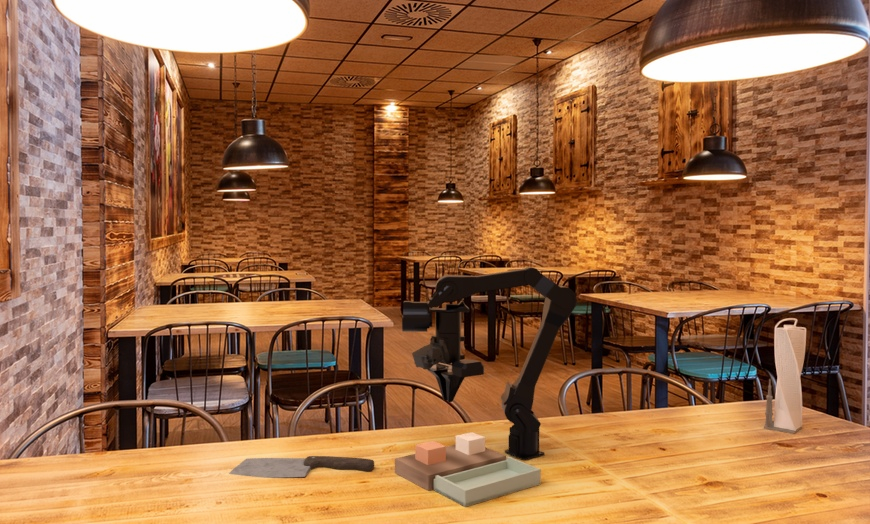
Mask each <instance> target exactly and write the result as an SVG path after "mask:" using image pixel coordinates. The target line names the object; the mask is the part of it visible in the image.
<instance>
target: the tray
mask: <svg viewBox="0 0 870 524" xmlns="http://www.w3.org/2000/svg"><path fill="white" fill-rule="evenodd" d="M541 471H542V470H541V468H539V467H536V466H533V465H532V464H529V463H526V462H523V461H521V460H518V459H515V458H514V457H511V456H506V460H504V461H500V462H497V463H493V464H489V465H485V466H481V467H477V468H474V469H470V470H466V471H462V472H458V473H454V474H451V475H447V476H443V477H441V476H439V475H437V476H435V479H434V490H433V491H435V492H436V493H438V494H439V495H442V496H444V498H445V497H446V498H447V499H449V500H451V501H453V502H455V503H457V504H458V505H461V506H463V507H464V508H467V507H469V506H474V505H476V504H481V503H483V502H486V501H490V500H493V499H496V498H500V497H503V496H507V495H509V494H513V493H517V492H520V491H523V490H526V489H530V488H532V487H535V486H540V485H541V482H542V481H541V480H542V479H541V475H542V473H541Z"/></svg>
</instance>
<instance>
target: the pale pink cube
mask: <svg viewBox="0 0 870 524" xmlns="http://www.w3.org/2000/svg"><path fill="white" fill-rule="evenodd" d="M455 445H456V450H458V451H460V452H462V453H465V454H467V455H472V454H476V453H480V452H484V451H485V447H486V437H485V436H483V435H481V434H478V433H475V432H473V431H471V432H466V433H463V434H458V435H455Z"/></svg>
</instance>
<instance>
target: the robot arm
mask: <svg viewBox="0 0 870 524" xmlns="http://www.w3.org/2000/svg"><path fill="white" fill-rule="evenodd" d="M525 286H529V287H531V288H532V289H534V291H536V292H537V293H539V294H540V295H541V296H543V297H544V304H543V306H542V307H543V308H542V314H541V315H542V317H541V321H540V324H539V327H538V330H537V332H536V334H535V336H534V339H533V341H532V344H531V345H530V348H529V350H528V354H527V356H526V358H525V361H524V363H523V366H522V368H521V370H520V372H519V374H518V377H517V378H516V380H515V381H513V383H511V382H509V381H507V382H506V384H505V387H504V392H503V393H502V394H501V395H500V399H501V408H502V410H503V413H504V416H505V417H506V419H507V420H508V422H510V423H512V425H511V426H510V427H509V434H508V448H507V449H505V450H504V454H507V455H510V456H513V457H515V458H518V459H520V460H522V461H523V460H524V461H525V460H529V459H533V458H537V457H541V456H544V455H545V452H544V451H541V450H540V427H541V424H542V423H541V422H540V420H539V418H538V416H537V415H536V413H535V412H534V411H533V410H532V409H533V405H534V400H535V391H536V390H535V389H536V385H537V383H538V380H539V378H540V376H541V373H542V371H543V369H544V366H545V364H546V361H547V359H548V357H549V354H550V351H551V349H552V347H553V344H554V342H555V340H556V337H557V335H558V333H559V330H560V329H561V327H562V326H563V325H564V324H565V323H566V322H567V320H568V319H569V318H570V316H571V314H572V313H573V312H574V310H575V308H576V306H577V304H578V298H577V295H576V293H575V292H574V291H573V289H572V288H569V287H567V286H564V285H561V284H557V283H555V282H554V281H553V280H551V279H549V278H548V277H547V276H545V275H544V274H543V273H541V271H540V270H538V268H535V267H532V266H527V267H526V266H525V268H519V269H512V270H507V271H506V270H505V271H500V272H493V273H487V274H480V275H464V274H463V275H461V274H460V275H459V274H446V275H442V276H441V277H439V278H438V280H437V281H436V284H435V291H434V292H433V293H432V294H431V296H430V297H428V298H429V299H428V300H427V301H411V300H404V301H403V306H402V307H403V309H402V316H401V326H402V327H401V331H402V332H403V333H404V332H405V333H407V332H409V333H410V332H411V333H412V332H415V333H418V332H419V333H423V332H424V333H427V332H428V329H431V328H433V313H434V314H435V316H434V317H435V318H434V319H435V320H434V321H435V327H434V329H435V334H434V335H431V337H430V341H429V344H427V345H424V346H422V347H421V348H418V349H416V350H415V351H414V352H412V353H411V355H412V357H413V358H412V359H413V362H414V365H415V367H416V368H421V369H423V370H427V372H429V373H431V374H432V375H433V376H434V377H435V379H436V382H437V385H438V388H439V391H440V395H441V397H442V400H443V401H444V402H446V401H447V402H448V403H453V402H454V399H455V397H456V395H457V393H458V391H459V389H460V387H461V385H462V383H463V381H464V380H465V378H469V377H474V376H475V377H476V376H481V375H485V365H484V363H483V362H482V361H479V360H476V359H472V358H471V359H470V358H469V359H466V355H465V354H463V353H462V342H465V341H466V336H464V335H462V313H469V312H470V311H471V310H470V308H469V307H468V306H467V305H466V304H465V302H464V300H463V299H466V298H468V297H470V296H474V295H476V294H480V293H486V292H492V291H493V292H494V291H499V290H505V289H513V288H519V287H520V288H521V287H525ZM457 301H460V302H459V303H454V302H457ZM444 303H445V307H442V308H441V305H443V304H444ZM438 307H439V308H438Z"/></svg>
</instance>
